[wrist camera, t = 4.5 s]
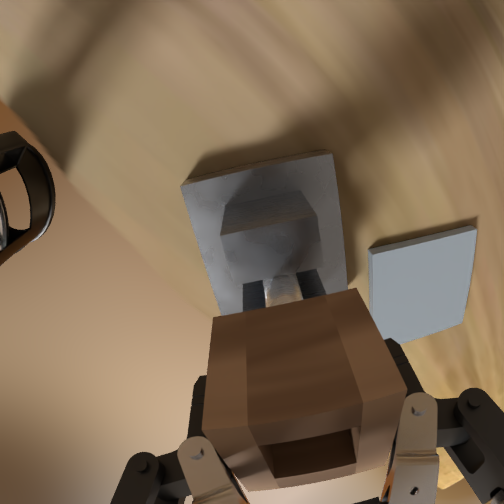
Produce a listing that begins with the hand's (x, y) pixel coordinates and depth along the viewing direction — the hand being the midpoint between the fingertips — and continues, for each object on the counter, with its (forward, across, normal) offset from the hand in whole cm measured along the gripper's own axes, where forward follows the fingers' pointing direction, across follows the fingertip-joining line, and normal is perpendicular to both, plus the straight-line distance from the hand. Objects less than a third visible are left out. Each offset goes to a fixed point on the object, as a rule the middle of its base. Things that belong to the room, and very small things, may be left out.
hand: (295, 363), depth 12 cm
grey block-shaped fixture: (+13, 0, 0) cm, 13 cm away
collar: (+1, 0, 0) cm, 1 cm away
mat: (+13, -13, +8) cm, 20 cm away
